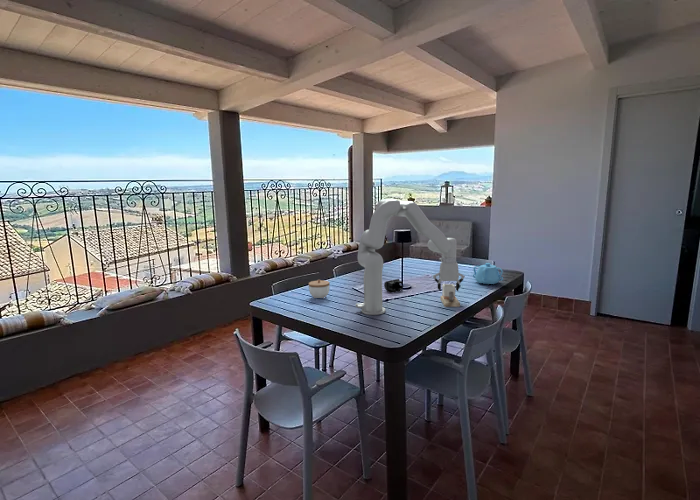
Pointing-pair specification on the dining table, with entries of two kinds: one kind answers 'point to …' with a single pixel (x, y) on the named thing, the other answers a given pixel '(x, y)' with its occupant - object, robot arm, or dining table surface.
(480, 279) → the decorative pot
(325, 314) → the dining table surface
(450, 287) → the sleeve
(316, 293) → the lidded bowl
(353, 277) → the dining table surface
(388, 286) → the end cap
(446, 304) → the pin board
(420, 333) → the dining table surface
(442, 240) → the robot arm
